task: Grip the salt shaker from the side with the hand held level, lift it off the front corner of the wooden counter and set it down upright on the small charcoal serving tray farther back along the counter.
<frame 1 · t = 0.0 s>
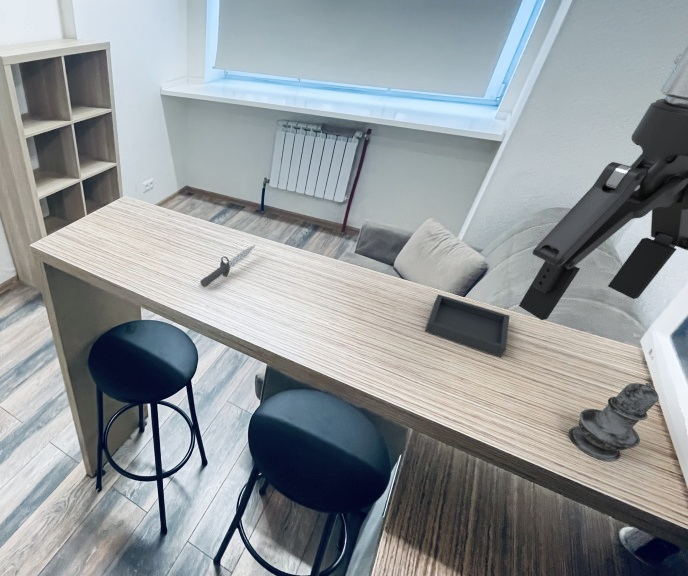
hand: (578, 302, 47), 21 cm above the table, tool pointing down, fingers open, 13 cm apart
salt shaker: (592, 444, 55), on the table
knife: (230, 272, 91), on the table
serving tray: (464, 327, 75), on the table
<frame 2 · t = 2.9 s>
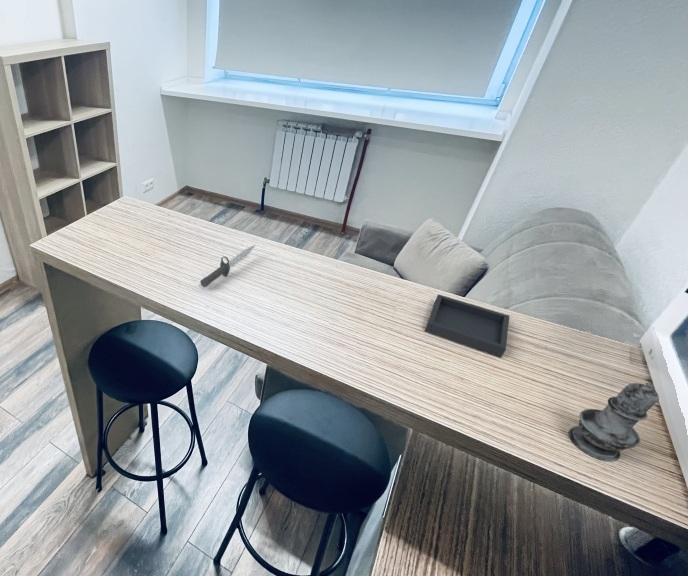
nothing on the table moved.
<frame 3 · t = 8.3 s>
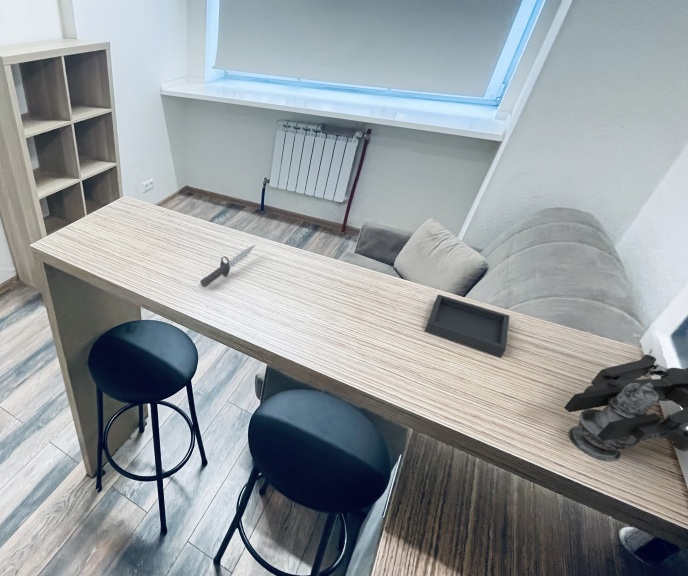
hand: (588, 417, 50), 7 cm above the table, tool horizontal, fingers closed on salt shaker, 3 cm apart
salt shaker: (592, 444, 55), on the table, touching gripper
everything else where it was.
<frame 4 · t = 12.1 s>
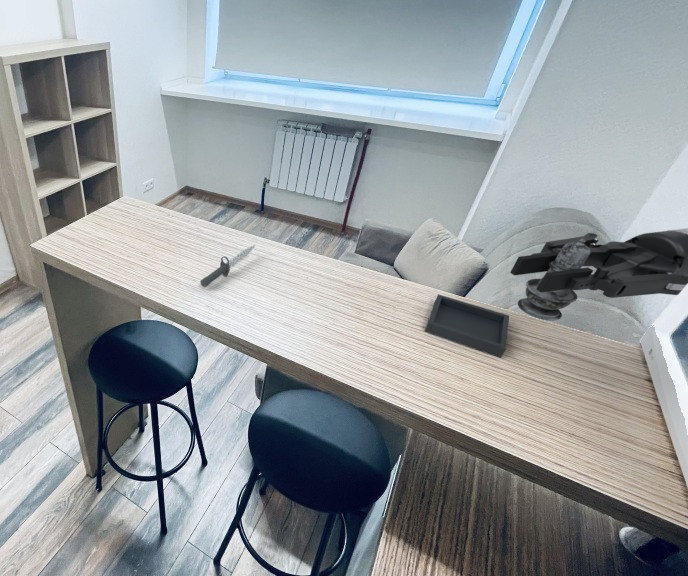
hand: (529, 274, 56), 18 cm above the table, tool horizontal, fingers closed on salt shaker, 3 cm apart
salt shaker: (538, 310, 61), point 11 cm above the table, touching gripper
everything else where it was.
when the fingers open (8 cm above the table, at t = 16.3 s): salt shaker stays where it is, resting on serving tray.
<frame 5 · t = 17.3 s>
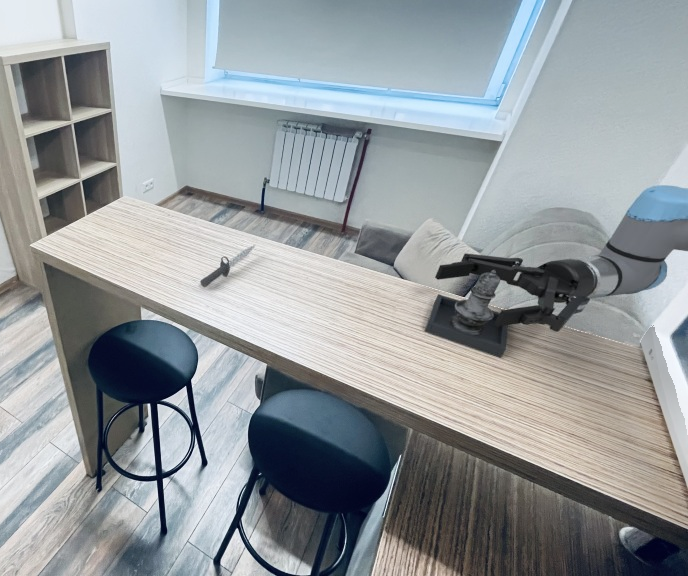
hand: (466, 293, 69), 8 cm above the table, tool horizontal, fingers open, 13 cm apart
salt shaker: (465, 326, 74), resting on serving tray
everything else where it was.
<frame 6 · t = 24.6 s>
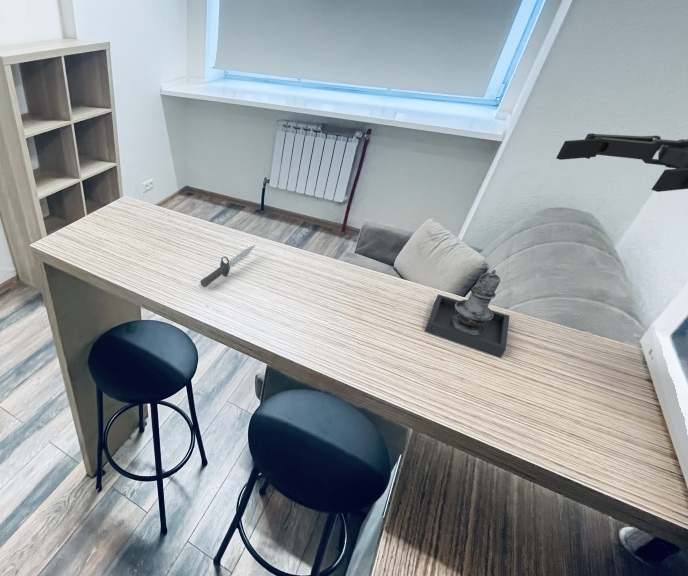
hand: (606, 164, 58), 30 cm above the table, tool horizontal, fingers open, 13 cm apart
nothing on the table moved.
at the end: salt shaker inside the target area in the serving tray (0.0 cm from its centre), point 0.4 cm above the serving tray's base; salt shaker tilted 0°; the gripper is holding nothing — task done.
